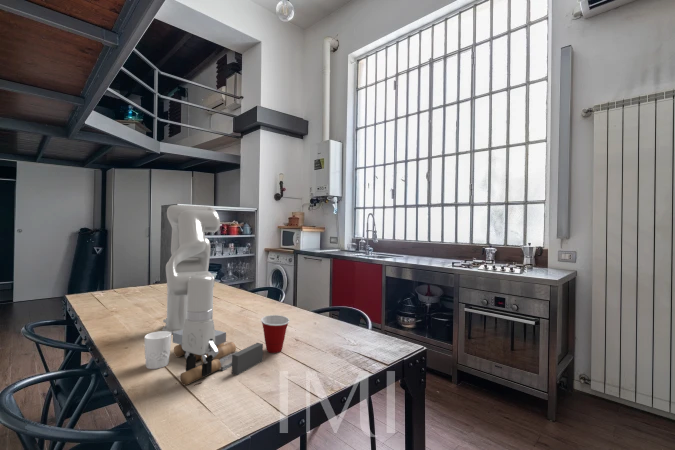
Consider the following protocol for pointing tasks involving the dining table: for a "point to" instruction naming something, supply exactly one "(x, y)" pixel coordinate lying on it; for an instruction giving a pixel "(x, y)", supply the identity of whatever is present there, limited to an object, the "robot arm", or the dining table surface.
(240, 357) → the block
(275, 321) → the plastic cup
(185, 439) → the dining table surface
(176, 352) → the roller bed
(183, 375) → the roller
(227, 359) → the grey flat plate
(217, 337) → the slab
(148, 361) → the white cup
